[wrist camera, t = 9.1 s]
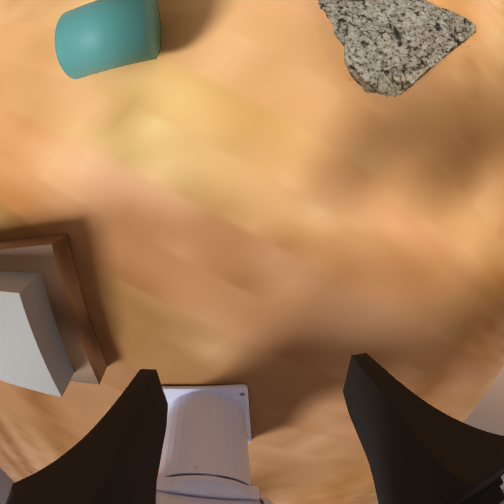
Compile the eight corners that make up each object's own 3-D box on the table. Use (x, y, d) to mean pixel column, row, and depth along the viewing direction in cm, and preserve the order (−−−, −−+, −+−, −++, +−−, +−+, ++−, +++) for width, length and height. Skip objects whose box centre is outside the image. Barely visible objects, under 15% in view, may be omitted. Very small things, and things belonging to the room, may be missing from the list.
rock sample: (367, -74, 7) (484, -17, 5) (409, -10, 13) (493, 56, 11) (263, 14, 14) (346, 92, 11) (326, 59, 20) (394, 135, 17)
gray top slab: (74, 372, 19) (61, 397, 17) (2, 356, 19) (-12, 375, 16) (41, 272, 16) (19, 293, 13) (-30, 269, 16) (-51, 284, 13)
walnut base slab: (109, 361, 23) (99, 384, 20) (16, 351, 22) (3, 368, 19) (72, 230, 19) (51, 244, 16) (-22, 242, 18) (-42, 254, 15)
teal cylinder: (146, 63, 12) (62, 87, 11) (163, 55, 15) (94, 71, 15) (138, -19, 8) (50, 11, 8) (157, -9, 12) (86, 11, 12)
